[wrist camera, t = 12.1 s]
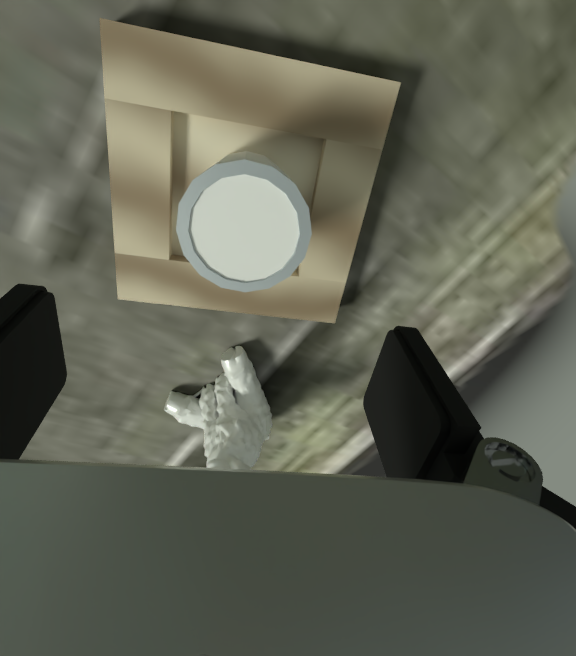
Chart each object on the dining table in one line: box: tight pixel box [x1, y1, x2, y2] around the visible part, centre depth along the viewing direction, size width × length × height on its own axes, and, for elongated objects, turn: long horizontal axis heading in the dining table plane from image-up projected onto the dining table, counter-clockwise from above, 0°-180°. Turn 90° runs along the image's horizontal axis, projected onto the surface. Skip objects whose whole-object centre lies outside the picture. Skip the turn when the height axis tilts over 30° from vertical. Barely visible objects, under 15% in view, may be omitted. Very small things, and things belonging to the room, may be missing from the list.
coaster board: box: [100, 18, 401, 323], centre depth 26 cm, size 16×16×2 cm
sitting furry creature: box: [164, 346, 272, 470], centre depth 31 cm, size 10×9×12 cm
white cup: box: [176, 151, 312, 292], centre depth 23 cm, size 7×7×7 cm
